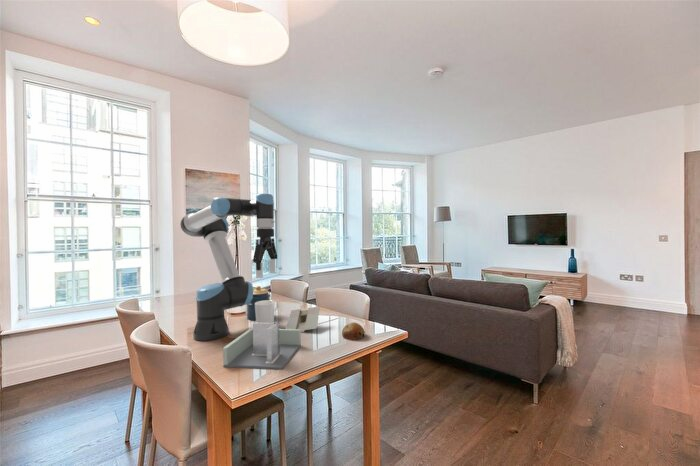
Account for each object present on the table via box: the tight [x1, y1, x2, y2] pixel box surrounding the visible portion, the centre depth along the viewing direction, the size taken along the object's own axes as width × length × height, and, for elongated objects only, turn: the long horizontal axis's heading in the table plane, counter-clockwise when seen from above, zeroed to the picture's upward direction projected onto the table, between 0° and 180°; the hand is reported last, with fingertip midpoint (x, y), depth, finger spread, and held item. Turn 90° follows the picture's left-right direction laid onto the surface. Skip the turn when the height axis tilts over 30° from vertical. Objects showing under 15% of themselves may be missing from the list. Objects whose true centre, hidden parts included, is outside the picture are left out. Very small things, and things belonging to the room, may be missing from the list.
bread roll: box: [341, 321, 366, 341], centre depth 138 cm, size 10×10×8 cm
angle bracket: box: [252, 321, 280, 363], centre depth 115 cm, size 10×8×12 cm
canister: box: [246, 285, 271, 321], centre depth 172 cm, size 13×13×18 cm
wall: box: [285, 306, 321, 333], centre depth 152 cm, size 16×9×15 cm
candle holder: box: [255, 299, 275, 323], centre depth 155 cm, size 10×10×12 cm
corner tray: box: [222, 327, 302, 370], centre depth 119 cm, size 22×22×7 cm
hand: (266, 275), depth 138 cm, fingers open, 13 cm apart
